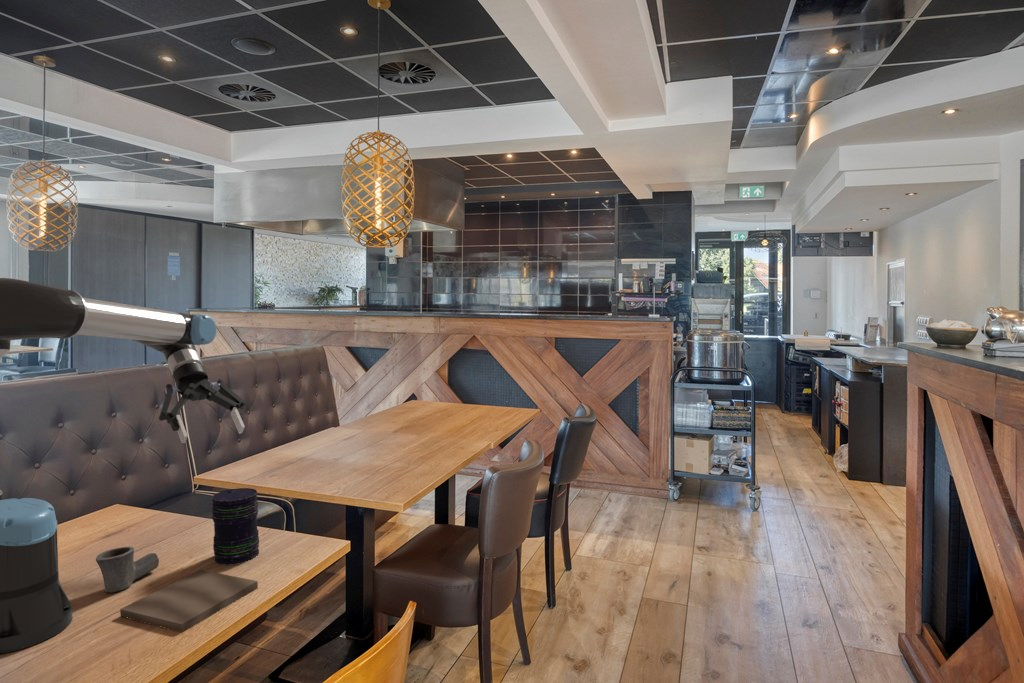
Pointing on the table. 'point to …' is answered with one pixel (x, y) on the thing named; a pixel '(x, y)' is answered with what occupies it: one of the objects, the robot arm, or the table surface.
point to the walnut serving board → (189, 600)
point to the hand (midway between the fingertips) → (214, 435)
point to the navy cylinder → (235, 525)
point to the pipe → (124, 567)
